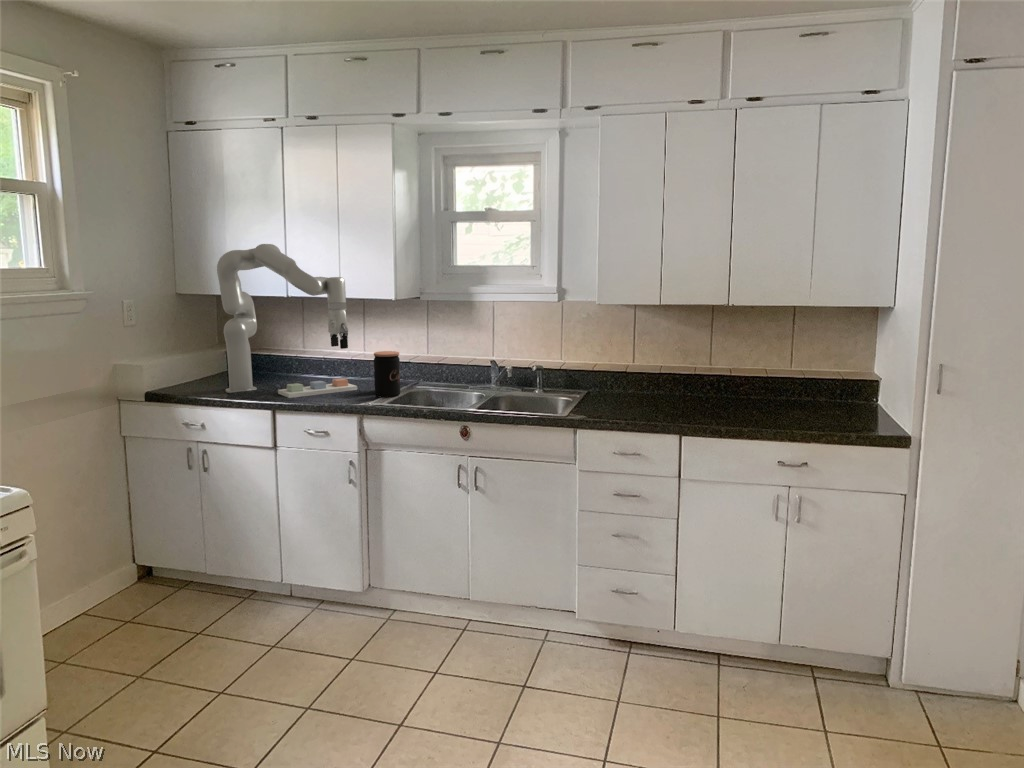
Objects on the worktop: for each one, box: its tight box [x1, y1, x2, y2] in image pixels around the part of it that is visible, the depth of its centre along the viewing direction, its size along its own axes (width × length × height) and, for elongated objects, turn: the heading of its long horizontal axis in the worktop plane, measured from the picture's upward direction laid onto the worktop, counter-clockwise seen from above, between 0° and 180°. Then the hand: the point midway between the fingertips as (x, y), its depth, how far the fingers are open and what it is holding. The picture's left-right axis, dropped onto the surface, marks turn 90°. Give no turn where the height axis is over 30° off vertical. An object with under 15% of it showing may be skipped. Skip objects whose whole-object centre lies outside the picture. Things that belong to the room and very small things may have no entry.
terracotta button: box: [331, 378, 349, 387], centre depth 325 cm, size 5×5×4 cm
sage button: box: [286, 382, 304, 392], centre depth 313 cm, size 5×5×4 cm
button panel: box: [277, 382, 358, 399], centre depth 319 cm, size 12×30×3 cm, turn 127°
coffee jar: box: [373, 350, 401, 398], centre depth 317 cm, size 11×11×18 cm
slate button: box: [309, 380, 327, 390], centre depth 319 cm, size 5×5×4 cm
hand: (339, 347), depth 321 cm, fingers open, 9 cm apart
